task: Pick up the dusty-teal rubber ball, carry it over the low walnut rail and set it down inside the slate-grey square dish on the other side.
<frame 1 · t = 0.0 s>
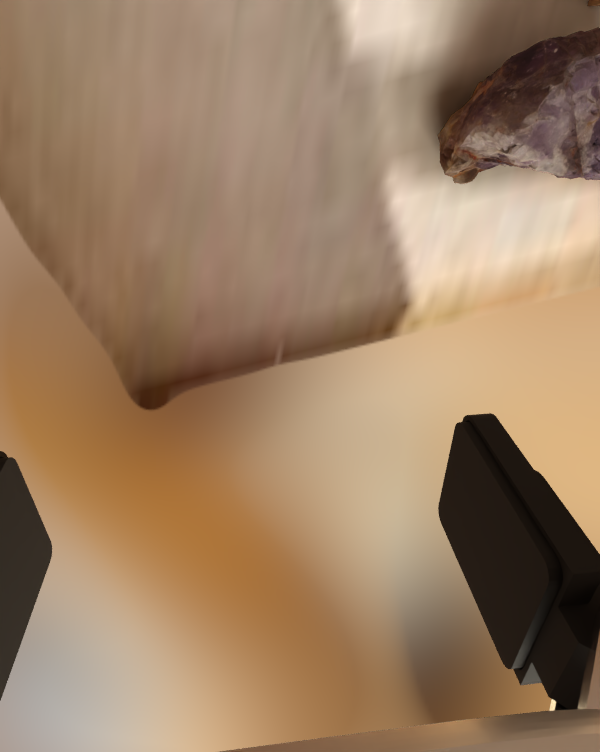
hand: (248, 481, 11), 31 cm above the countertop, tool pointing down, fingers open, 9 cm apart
rock: (512, 111, 37), on the countertop
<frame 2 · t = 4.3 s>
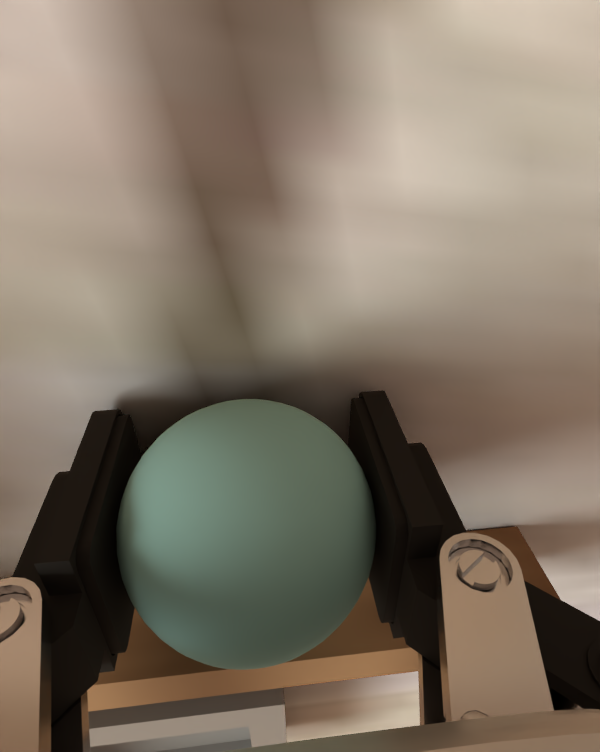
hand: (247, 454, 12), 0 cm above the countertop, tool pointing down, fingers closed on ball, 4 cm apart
rail: (223, 575, 15), on the countertop
dish: (153, 688, 18), on the countertop
ball: (246, 442, 12), on the countertop, touching gripper
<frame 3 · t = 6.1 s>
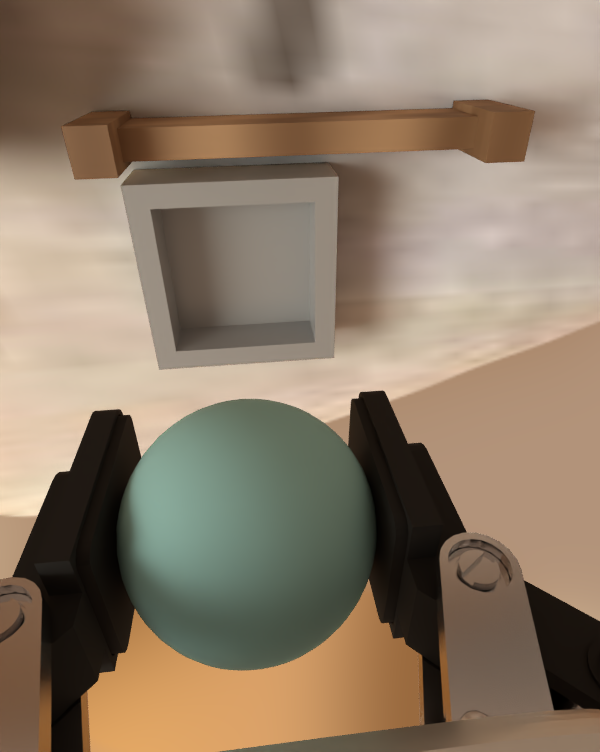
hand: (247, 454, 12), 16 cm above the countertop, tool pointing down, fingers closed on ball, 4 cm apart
rail: (295, 128, 23), on the countertop
dish: (240, 258, 26), on the countertop
ball: (247, 442, 12), point 16 cm above the countertop, touching gripper
when the fingers open (3 cm above the countertop, at t = 8.4 s): ball drops 2 cm, resting on dish.
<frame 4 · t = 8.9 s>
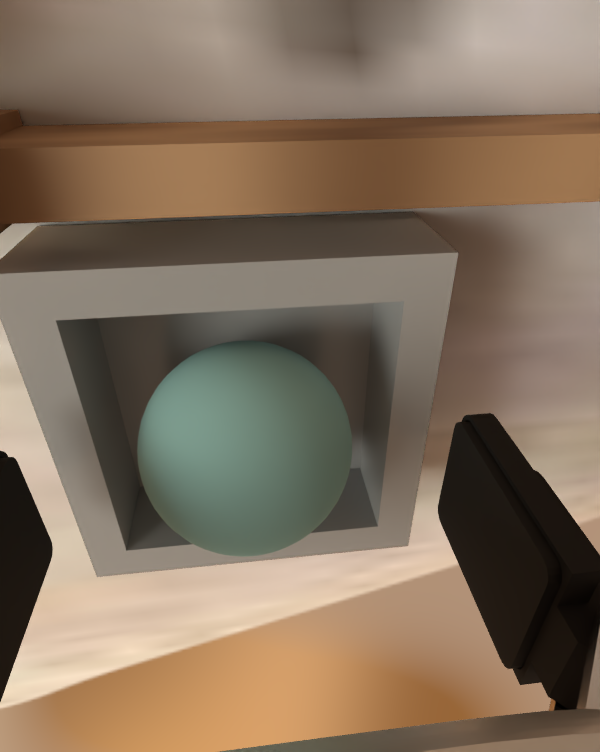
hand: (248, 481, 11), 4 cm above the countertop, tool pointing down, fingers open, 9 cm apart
rail: (357, 147, 11), on the countertop
dish: (244, 374, 14), on the countertop
ball: (245, 386, 14), point 1 cm above the countertop, touching dish
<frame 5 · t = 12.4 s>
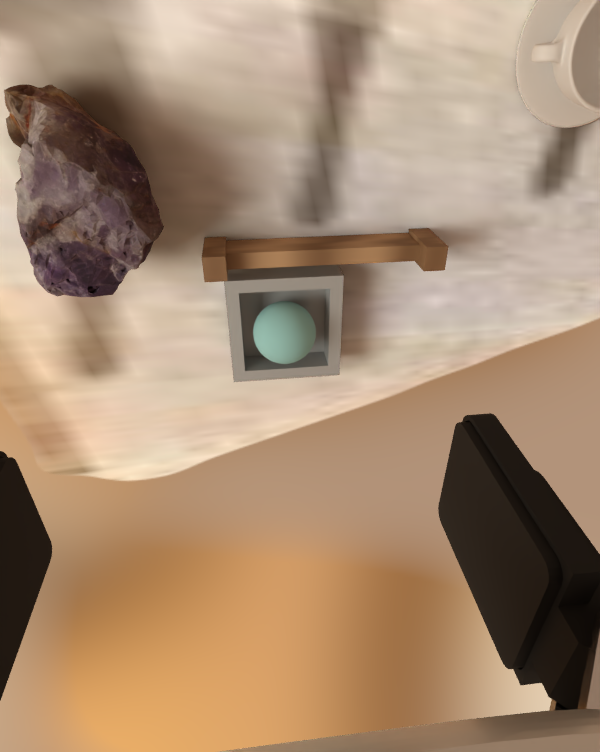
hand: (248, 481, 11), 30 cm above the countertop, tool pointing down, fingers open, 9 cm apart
rail: (318, 244, 39), on the countertop
rock: (100, 184, 36), on the countertop
teacup: (582, 46, 34), on the countertop
dish: (282, 314, 42), on the countertop
ball: (283, 318, 42), point 1 cm above the countertop, touching dish
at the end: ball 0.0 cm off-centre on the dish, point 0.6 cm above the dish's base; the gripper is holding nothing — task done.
